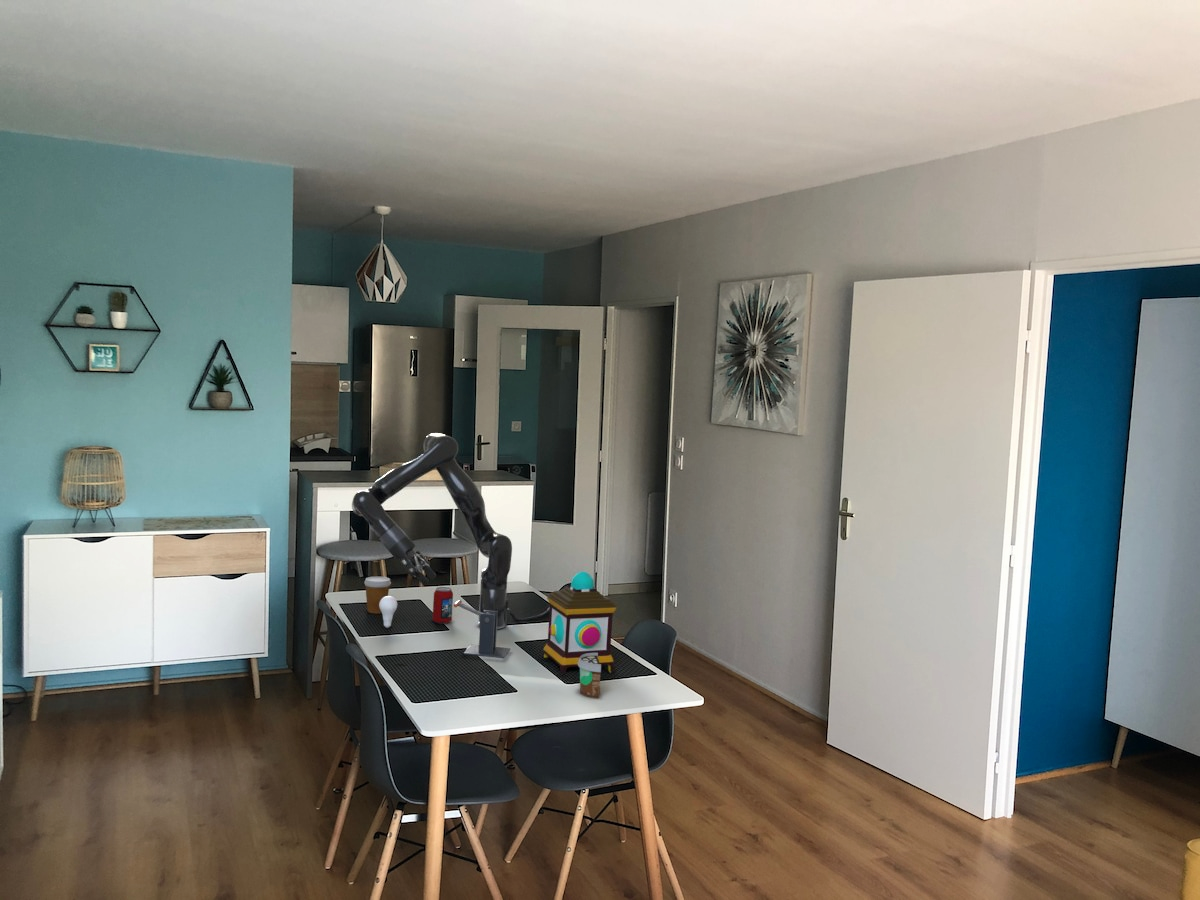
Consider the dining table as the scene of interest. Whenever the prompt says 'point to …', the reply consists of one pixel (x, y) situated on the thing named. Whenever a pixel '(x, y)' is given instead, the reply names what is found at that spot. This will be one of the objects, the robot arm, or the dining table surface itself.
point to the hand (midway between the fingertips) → (430, 580)
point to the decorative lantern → (579, 624)
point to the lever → (467, 608)
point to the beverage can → (442, 605)
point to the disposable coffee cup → (376, 592)
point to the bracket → (487, 638)
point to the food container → (589, 675)
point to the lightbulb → (388, 609)
